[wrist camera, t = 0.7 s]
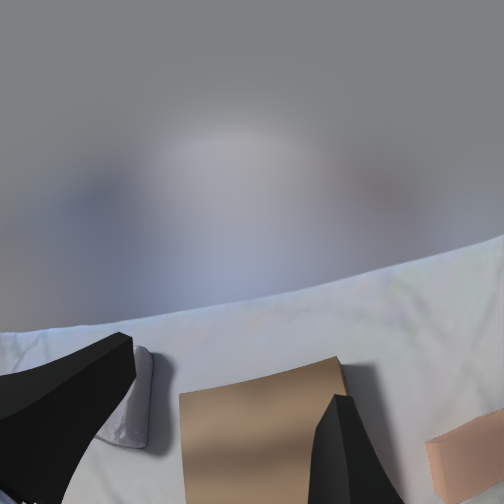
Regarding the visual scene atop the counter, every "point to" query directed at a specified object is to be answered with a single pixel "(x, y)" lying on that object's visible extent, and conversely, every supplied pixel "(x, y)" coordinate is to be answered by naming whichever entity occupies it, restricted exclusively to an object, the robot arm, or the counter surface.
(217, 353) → the counter surface
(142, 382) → the stone block
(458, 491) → the terracotta block
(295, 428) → the walnut base
